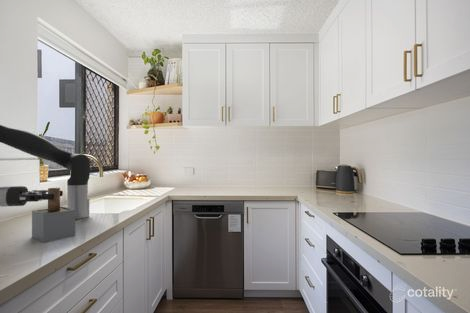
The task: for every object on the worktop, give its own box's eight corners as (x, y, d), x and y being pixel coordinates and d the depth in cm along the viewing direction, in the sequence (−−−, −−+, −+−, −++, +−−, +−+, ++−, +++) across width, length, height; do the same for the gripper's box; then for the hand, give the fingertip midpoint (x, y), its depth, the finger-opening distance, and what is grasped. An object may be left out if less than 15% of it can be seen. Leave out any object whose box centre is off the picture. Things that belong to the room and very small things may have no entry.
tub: (62, 230, 112) (63, 206, 112) (75, 235, 105) (75, 209, 105) (31, 237, 103) (32, 210, 103) (43, 242, 96) (43, 214, 96)
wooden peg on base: (60, 210, 110) (61, 186, 110) (69, 213, 105) (70, 188, 105) (37, 214, 103) (37, 188, 103) (46, 217, 98) (46, 190, 98)
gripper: (-1, 188, 93) (51, 187, 98) (19, 184, 107) (64, 183, 111) (-1, 209, 93) (51, 207, 98) (19, 202, 107) (64, 201, 111)
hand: (58, 194), depth 104 cm, fingers open, 8 cm apart
